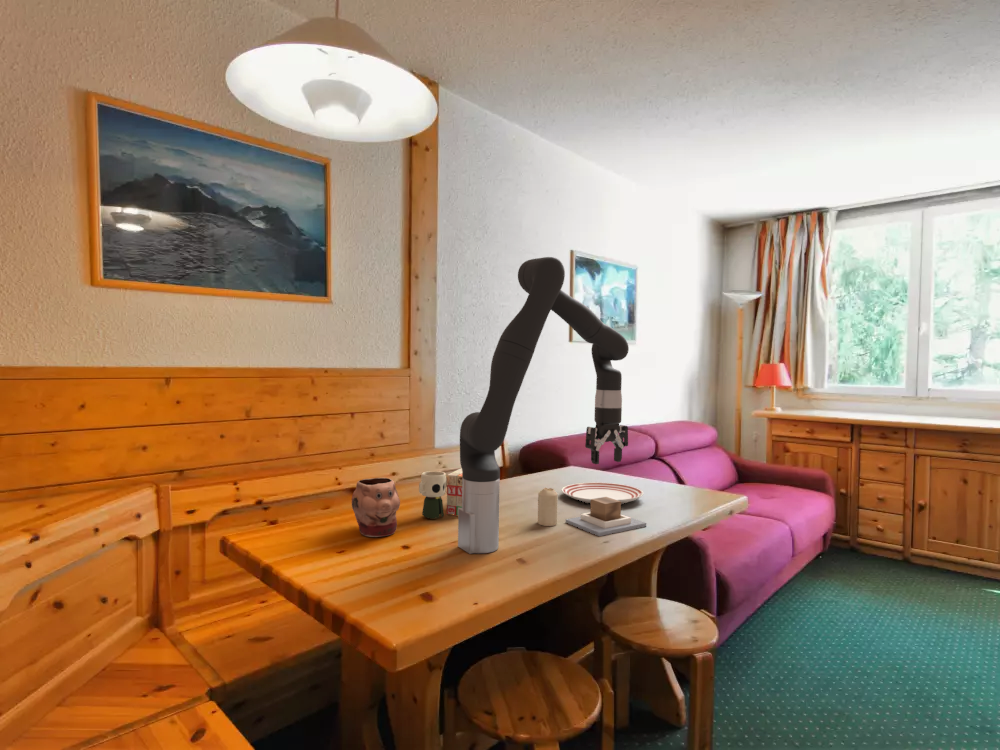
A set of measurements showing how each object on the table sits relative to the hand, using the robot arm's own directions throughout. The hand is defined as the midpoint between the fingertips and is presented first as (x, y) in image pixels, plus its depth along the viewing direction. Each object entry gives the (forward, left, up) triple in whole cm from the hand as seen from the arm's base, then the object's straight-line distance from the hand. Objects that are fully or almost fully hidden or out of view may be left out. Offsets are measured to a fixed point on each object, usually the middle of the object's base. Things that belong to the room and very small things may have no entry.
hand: (606, 462), depth 155 cm
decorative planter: (-59, +26, -18) cm, 67 cm away
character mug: (-40, +30, -18) cm, 53 cm away
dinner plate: (+20, +23, -18) cm, 36 cm away
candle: (-14, +9, -18) cm, 24 cm away
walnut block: (0, 0, -17) cm, 17 cm away
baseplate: (0, 0, -18) cm, 18 cm away
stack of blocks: (-25, +35, -18) cm, 47 cm away
